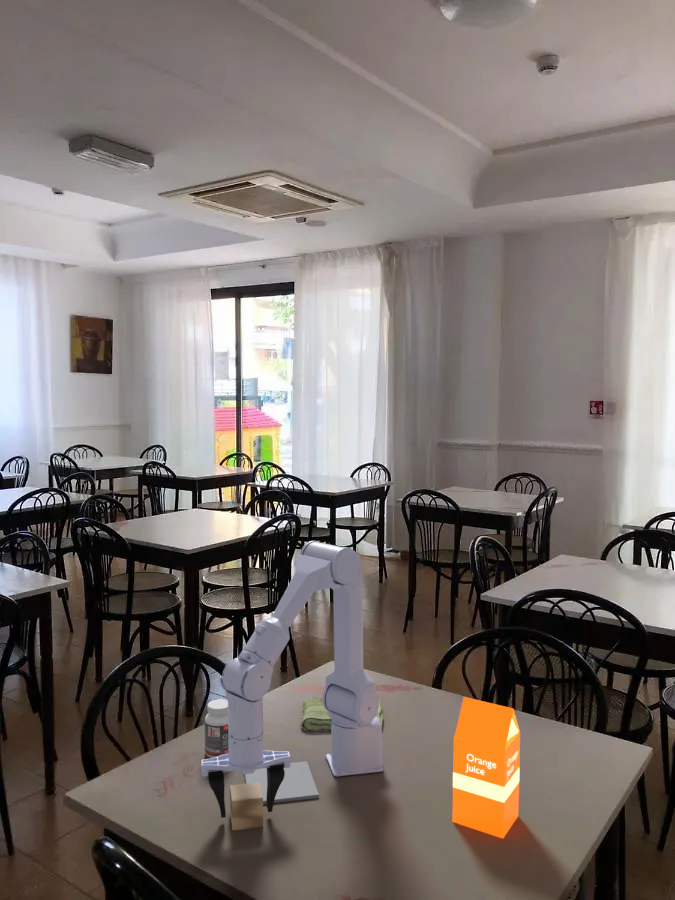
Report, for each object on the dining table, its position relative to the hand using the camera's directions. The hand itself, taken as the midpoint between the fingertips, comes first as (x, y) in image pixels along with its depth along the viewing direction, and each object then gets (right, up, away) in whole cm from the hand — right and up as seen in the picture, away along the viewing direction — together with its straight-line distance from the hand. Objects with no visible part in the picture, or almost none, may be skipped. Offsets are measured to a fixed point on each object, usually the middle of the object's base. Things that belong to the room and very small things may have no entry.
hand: (246, 811), depth 123 cm
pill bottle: (-8, 0, +23) cm, 24 cm away
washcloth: (+16, +1, +38) cm, 42 cm away
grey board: (+5, -1, +11) cm, 12 cm away
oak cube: (0, -2, 0) cm, 2 cm away
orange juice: (+40, -2, +1) cm, 40 cm away
